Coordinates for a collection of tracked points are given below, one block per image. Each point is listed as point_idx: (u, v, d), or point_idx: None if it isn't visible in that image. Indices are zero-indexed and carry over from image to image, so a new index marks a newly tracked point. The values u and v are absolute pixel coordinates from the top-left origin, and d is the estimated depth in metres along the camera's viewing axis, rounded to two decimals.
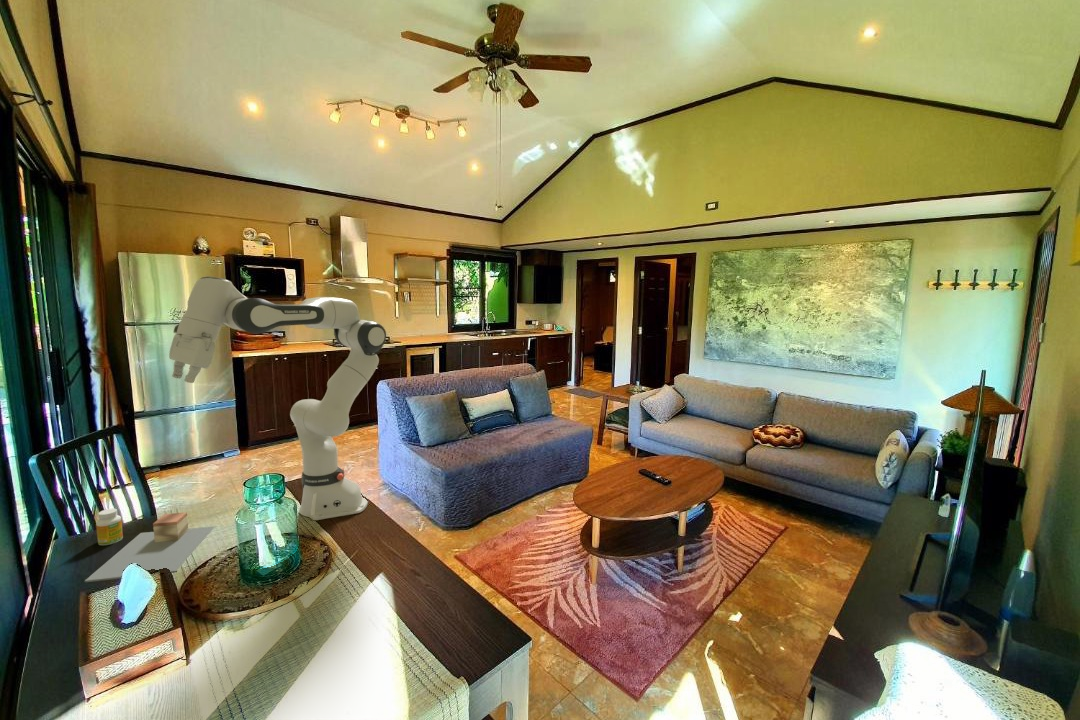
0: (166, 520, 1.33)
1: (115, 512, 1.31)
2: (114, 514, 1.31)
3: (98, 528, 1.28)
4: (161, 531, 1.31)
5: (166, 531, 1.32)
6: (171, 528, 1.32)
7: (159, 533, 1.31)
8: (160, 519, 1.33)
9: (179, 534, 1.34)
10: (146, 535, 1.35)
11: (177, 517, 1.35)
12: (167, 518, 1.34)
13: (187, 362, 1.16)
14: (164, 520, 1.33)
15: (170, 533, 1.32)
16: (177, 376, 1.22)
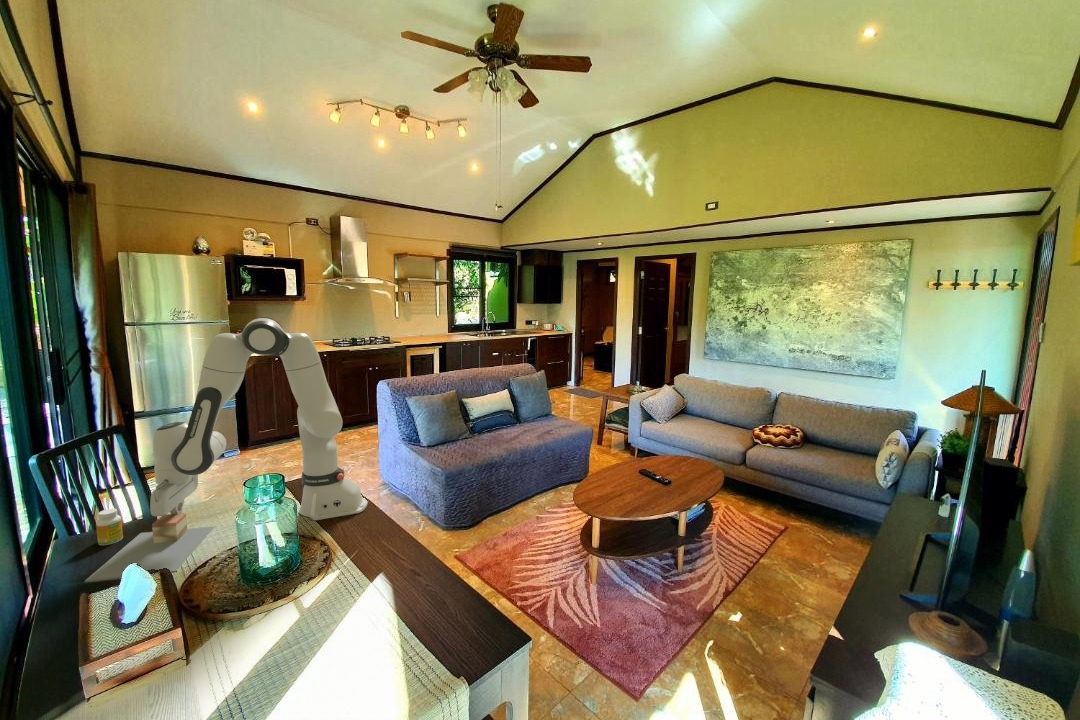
0: (165, 521, 1.32)
1: (115, 512, 1.31)
2: (114, 514, 1.31)
3: (98, 528, 1.28)
4: (160, 532, 1.31)
5: (165, 532, 1.31)
6: (170, 529, 1.31)
7: (158, 534, 1.31)
8: (159, 520, 1.32)
9: (178, 535, 1.33)
10: (146, 535, 1.35)
11: (176, 518, 1.34)
12: (166, 519, 1.33)
13: None
14: (163, 521, 1.32)
15: (169, 534, 1.32)
16: None
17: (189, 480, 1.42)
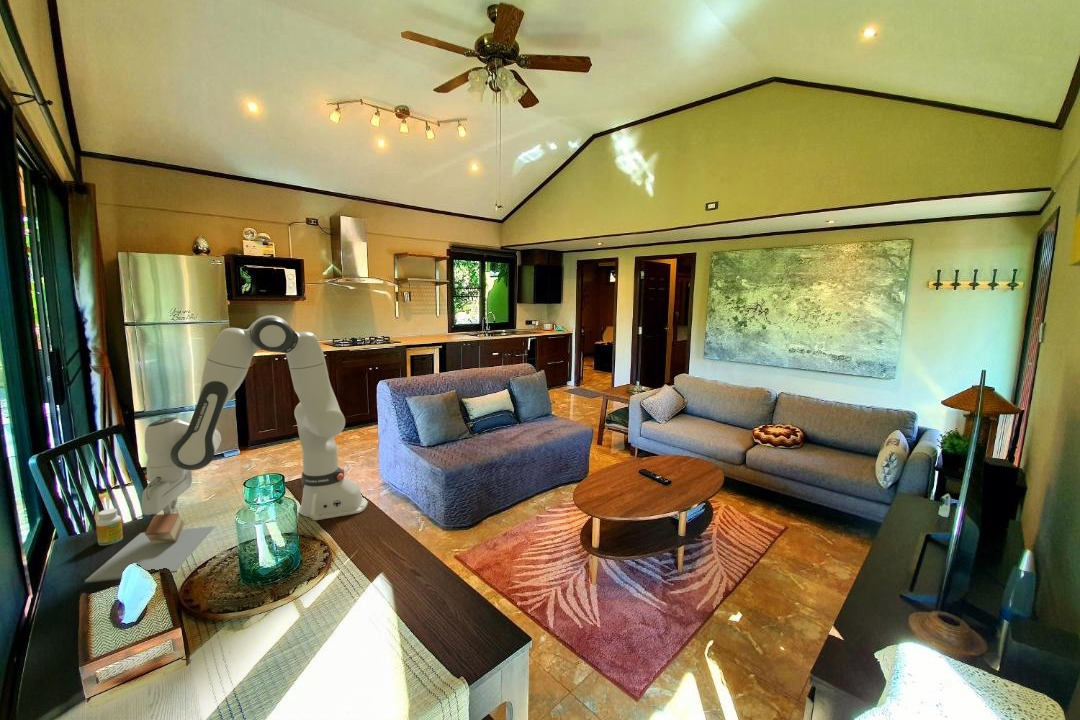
0: (158, 527, 1.29)
1: (115, 512, 1.31)
2: (114, 514, 1.31)
3: (98, 528, 1.28)
4: (156, 538, 1.29)
5: (161, 537, 1.29)
6: (165, 535, 1.29)
7: (154, 538, 1.29)
8: (151, 525, 1.29)
9: (176, 536, 1.32)
10: None
11: (168, 523, 1.30)
12: (158, 523, 1.29)
13: None
14: (155, 528, 1.28)
15: (166, 538, 1.30)
16: None
17: (183, 478, 1.38)
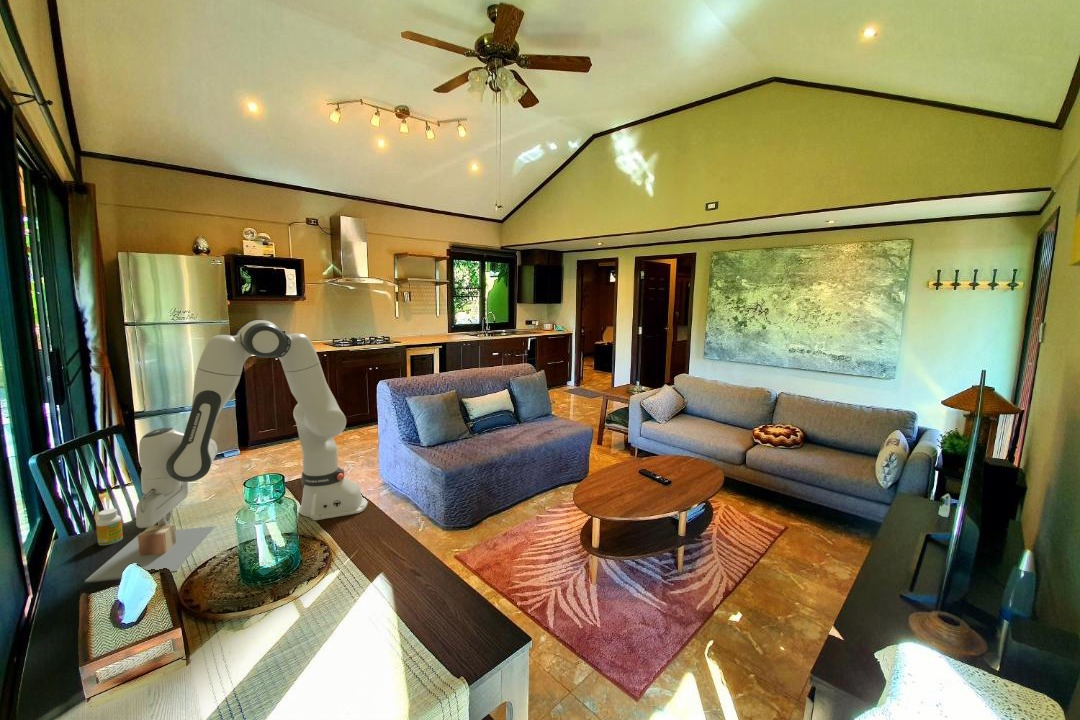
0: (150, 549, 1.25)
1: (115, 512, 1.31)
2: (114, 514, 1.31)
3: (98, 528, 1.28)
4: None
5: None
6: None
7: None
8: (141, 547, 1.24)
9: (173, 541, 1.30)
10: None
11: (159, 544, 1.25)
12: (148, 545, 1.25)
13: None
14: (148, 550, 1.25)
15: None
16: None
17: (178, 489, 1.36)
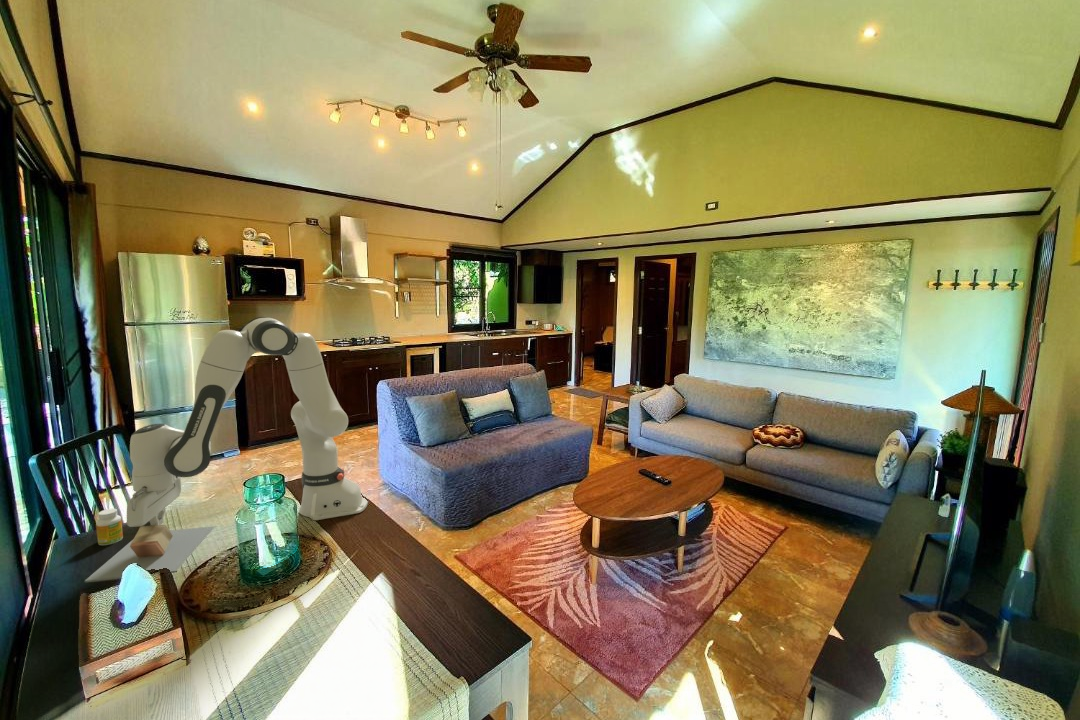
0: (147, 553, 1.23)
1: (115, 512, 1.31)
2: (114, 514, 1.31)
3: (98, 528, 1.28)
4: None
5: None
6: None
7: None
8: (137, 552, 1.22)
9: (169, 537, 1.28)
10: None
11: (155, 550, 1.23)
12: (144, 551, 1.23)
13: None
14: (145, 553, 1.23)
15: None
16: None
17: (171, 487, 1.32)
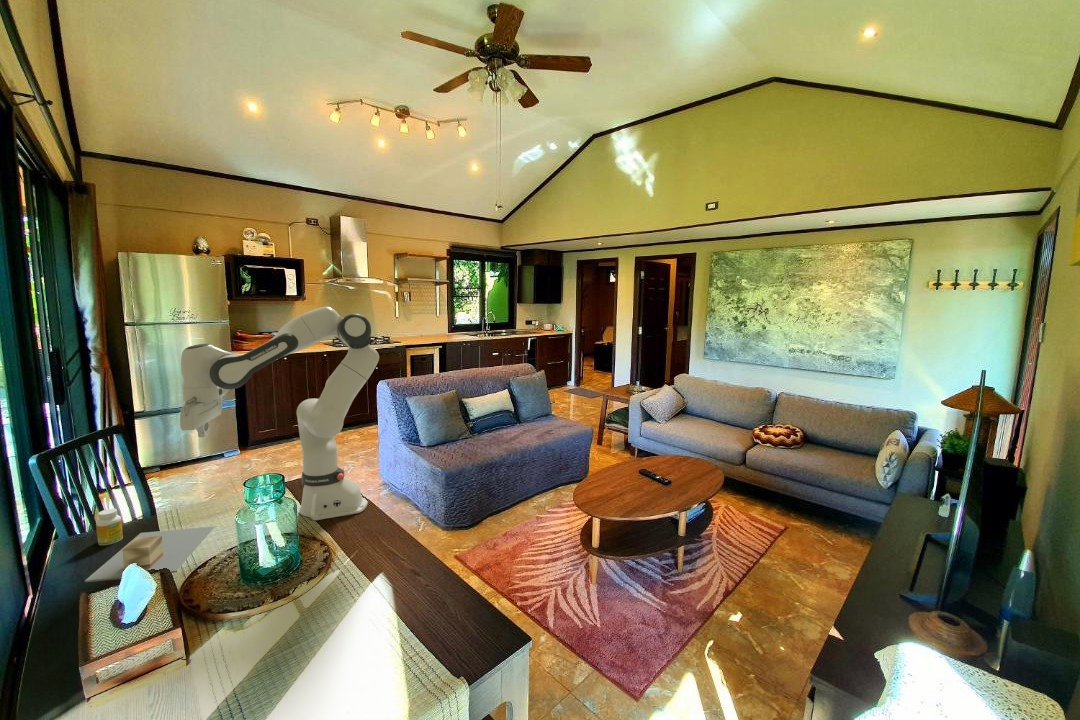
0: None
1: (115, 512, 1.31)
2: (114, 514, 1.31)
3: (98, 528, 1.28)
4: None
5: None
6: None
7: None
8: None
9: (159, 541, 1.24)
10: (146, 535, 1.35)
11: None
12: None
13: None
14: None
15: None
16: None
17: (214, 403, 1.47)
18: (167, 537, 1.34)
